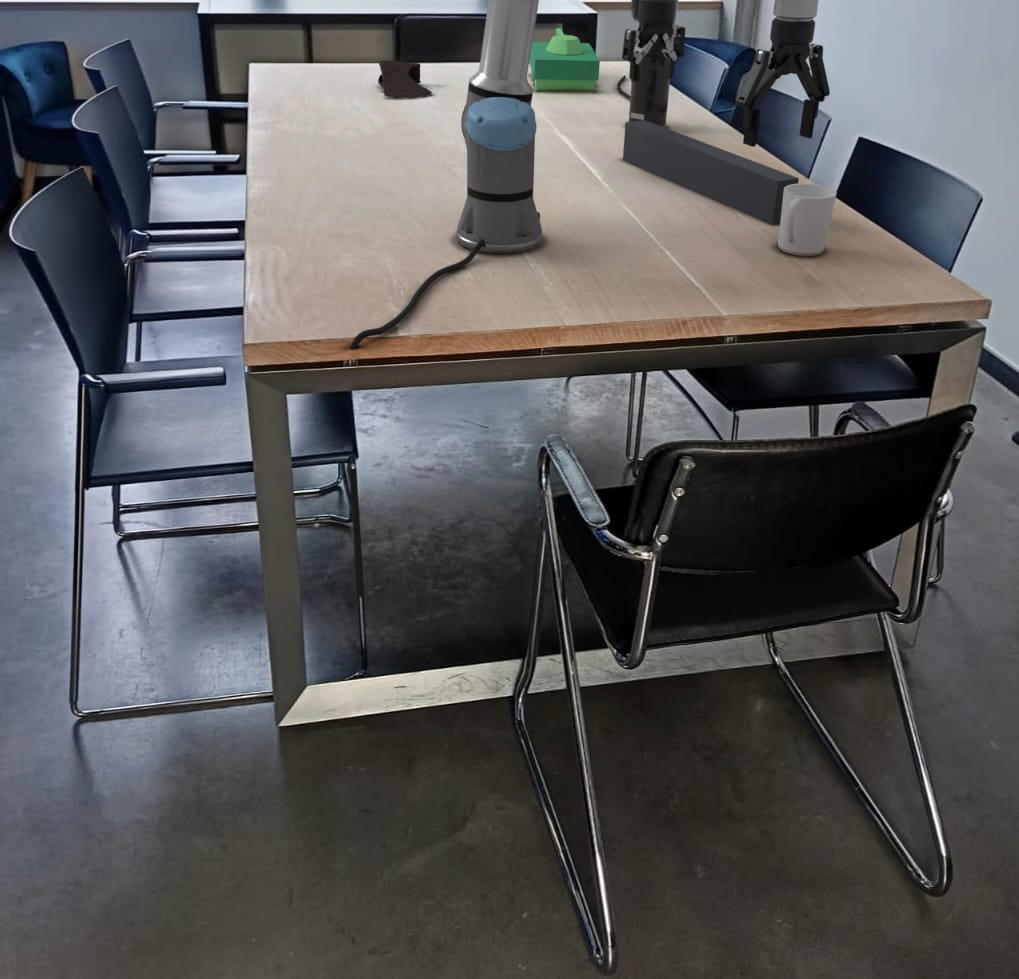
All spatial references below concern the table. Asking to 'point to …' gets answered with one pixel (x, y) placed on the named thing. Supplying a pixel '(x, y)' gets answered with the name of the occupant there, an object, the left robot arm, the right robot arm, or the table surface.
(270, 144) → the table surface
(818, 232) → the mug
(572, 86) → the toy tank
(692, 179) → the beam
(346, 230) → the table surface
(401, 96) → the axe head
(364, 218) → the table surface
